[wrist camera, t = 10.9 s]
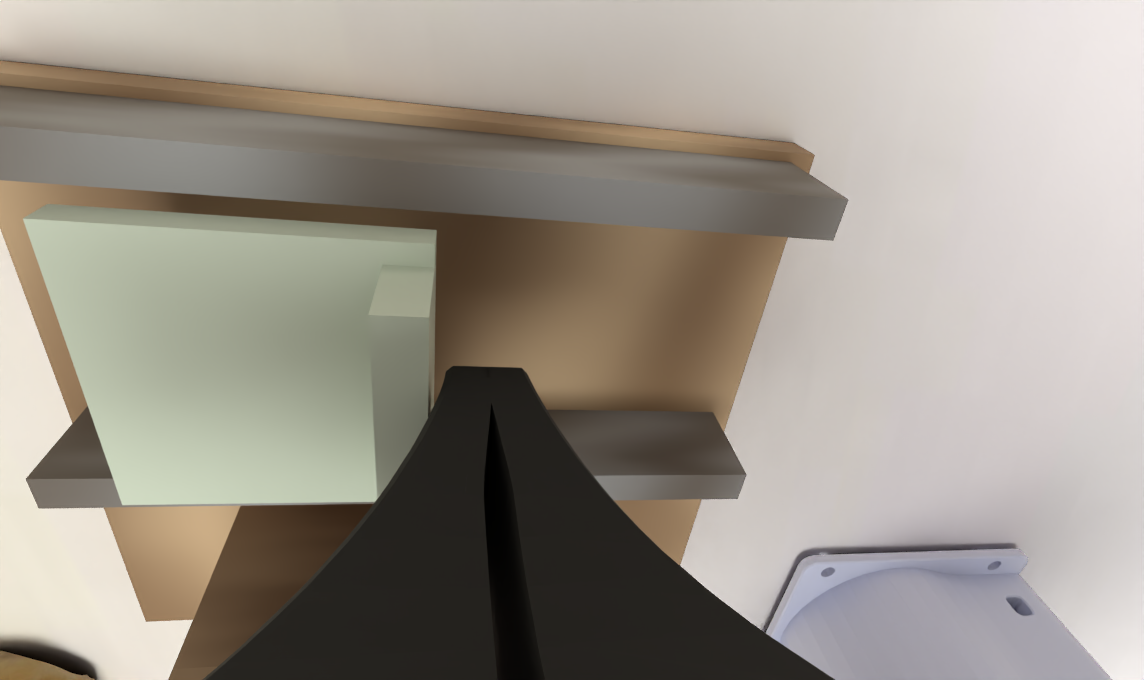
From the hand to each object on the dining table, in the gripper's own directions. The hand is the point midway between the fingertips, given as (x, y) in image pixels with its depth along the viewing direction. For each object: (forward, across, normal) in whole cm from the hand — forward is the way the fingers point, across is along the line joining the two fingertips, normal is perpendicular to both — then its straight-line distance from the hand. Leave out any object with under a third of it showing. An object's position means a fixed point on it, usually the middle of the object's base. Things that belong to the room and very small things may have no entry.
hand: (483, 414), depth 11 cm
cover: (+1, +4, 0) cm, 4 cm away
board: (+5, +1, +4) cm, 6 cm away
